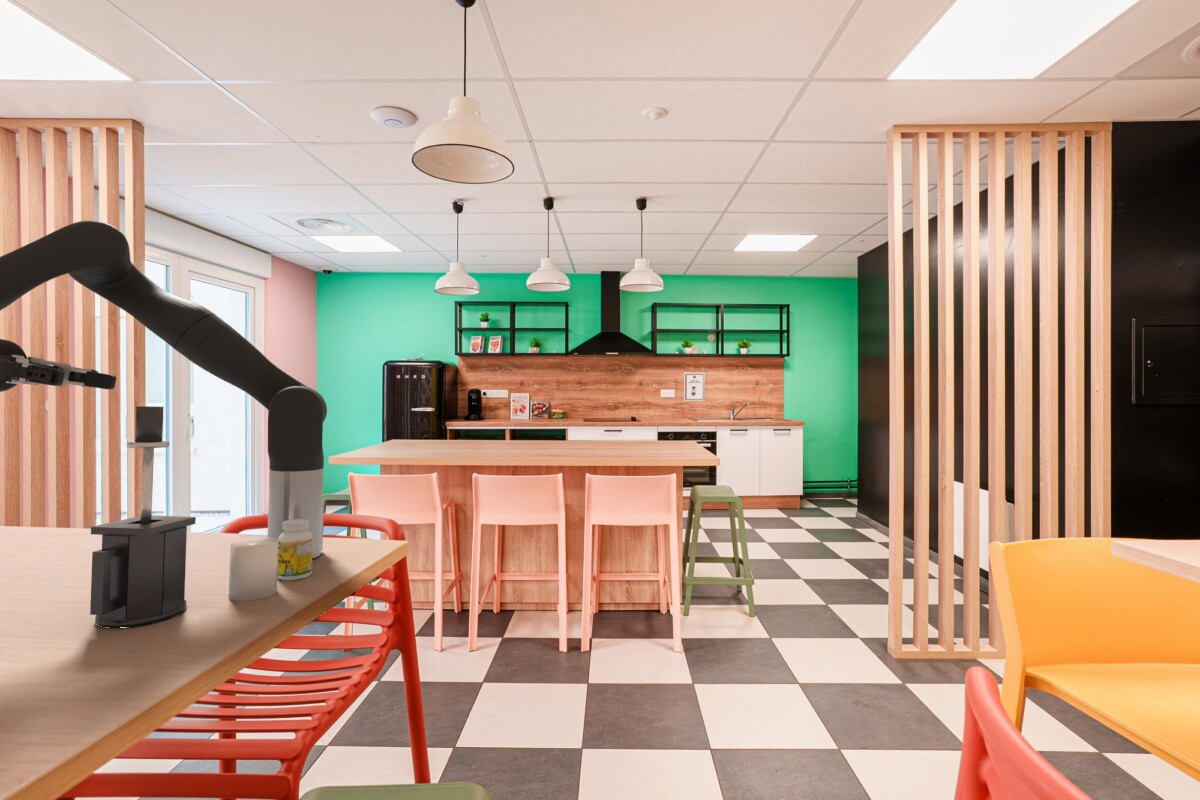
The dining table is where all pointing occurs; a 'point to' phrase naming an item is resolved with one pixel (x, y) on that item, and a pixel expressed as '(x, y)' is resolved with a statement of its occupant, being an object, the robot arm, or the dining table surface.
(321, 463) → the robot arm
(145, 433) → the plunger
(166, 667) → the dining table surface
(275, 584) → the white rounded cylinder
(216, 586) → the dining table surface
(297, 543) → the supplement bottle
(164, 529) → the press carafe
